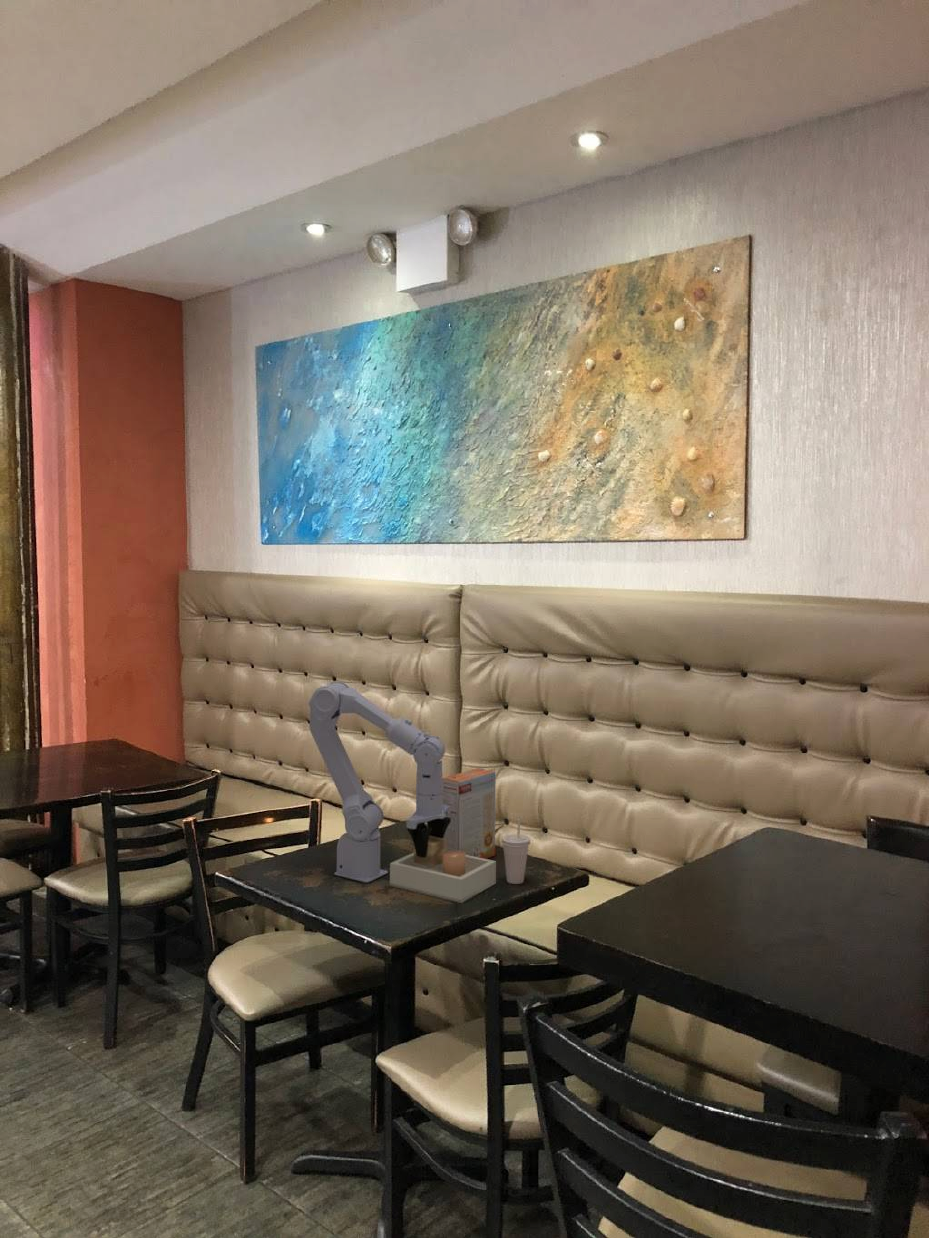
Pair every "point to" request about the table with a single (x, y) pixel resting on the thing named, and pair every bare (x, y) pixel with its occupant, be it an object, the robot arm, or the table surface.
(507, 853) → the smoothie
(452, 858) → the cylinder
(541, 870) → the table surface
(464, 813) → the cracker box
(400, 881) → the tote
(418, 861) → the cube
